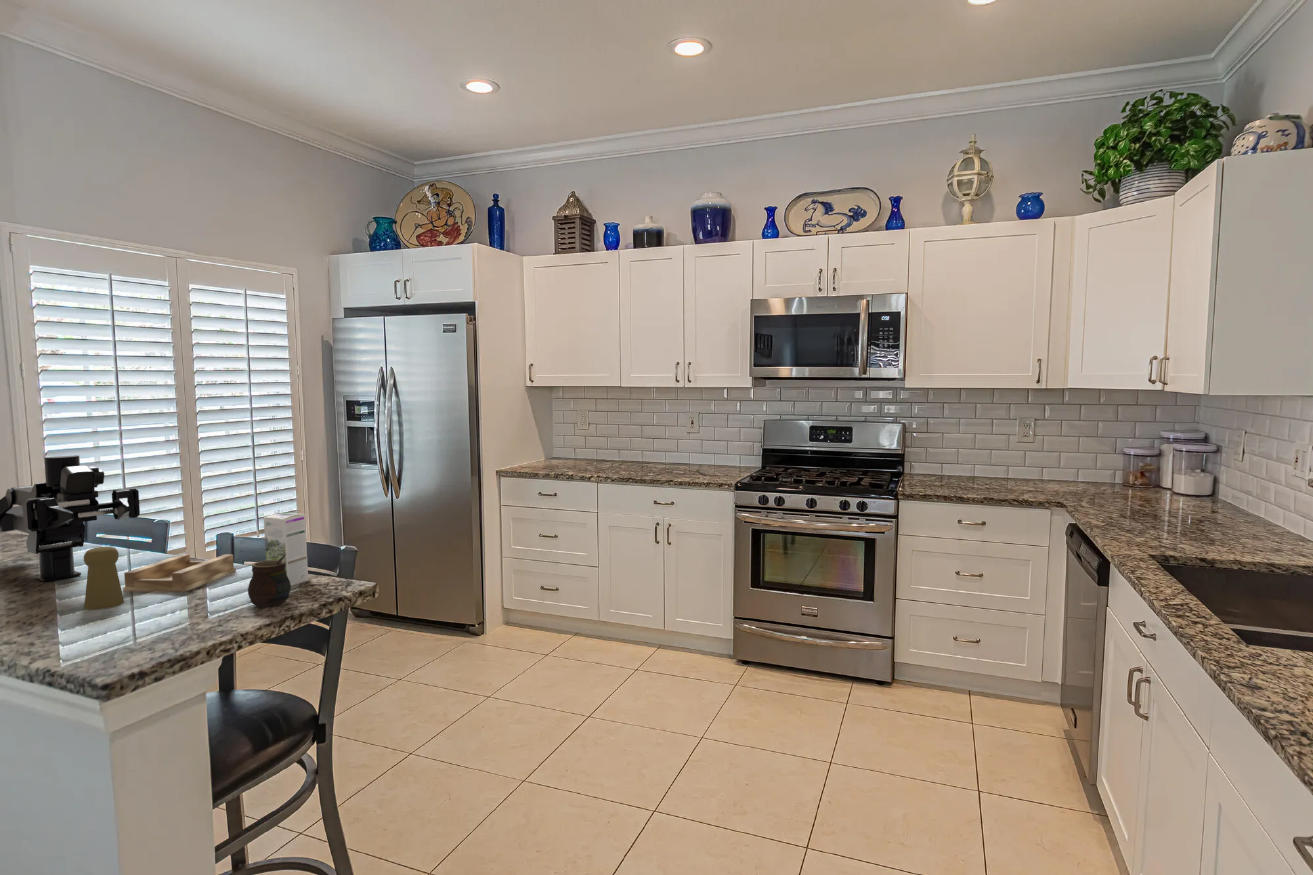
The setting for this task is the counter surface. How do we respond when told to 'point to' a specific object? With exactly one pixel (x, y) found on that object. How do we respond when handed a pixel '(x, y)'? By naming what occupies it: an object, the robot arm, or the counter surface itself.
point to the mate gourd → (269, 583)
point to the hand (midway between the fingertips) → (101, 512)
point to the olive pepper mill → (102, 579)
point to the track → (177, 574)
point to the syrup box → (287, 543)
